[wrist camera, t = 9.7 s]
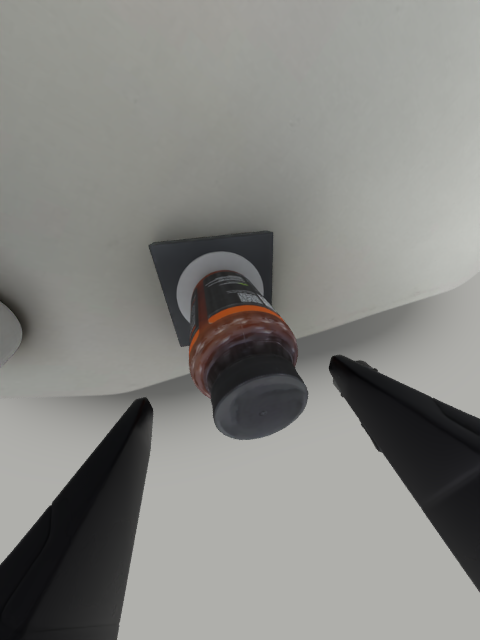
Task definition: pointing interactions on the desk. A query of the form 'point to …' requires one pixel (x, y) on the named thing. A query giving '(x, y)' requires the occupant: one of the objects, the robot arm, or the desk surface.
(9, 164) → the desk surface
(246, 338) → the supplement bottle
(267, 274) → the scale
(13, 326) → the cup
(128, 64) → the desk surface
